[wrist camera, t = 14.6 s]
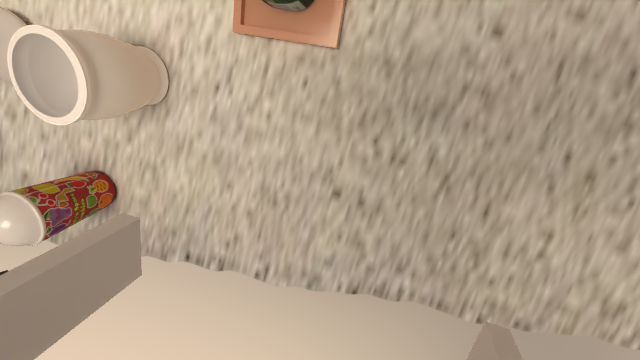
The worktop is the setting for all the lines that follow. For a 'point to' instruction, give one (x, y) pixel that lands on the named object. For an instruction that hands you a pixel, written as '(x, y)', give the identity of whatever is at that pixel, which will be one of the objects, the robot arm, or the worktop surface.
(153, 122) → the worktop surface
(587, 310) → the worktop surface
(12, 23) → the flower in vase
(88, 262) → the robot arm
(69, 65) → the jar
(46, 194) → the smoothie
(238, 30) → the tray
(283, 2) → the coffee jar
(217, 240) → the worktop surface
